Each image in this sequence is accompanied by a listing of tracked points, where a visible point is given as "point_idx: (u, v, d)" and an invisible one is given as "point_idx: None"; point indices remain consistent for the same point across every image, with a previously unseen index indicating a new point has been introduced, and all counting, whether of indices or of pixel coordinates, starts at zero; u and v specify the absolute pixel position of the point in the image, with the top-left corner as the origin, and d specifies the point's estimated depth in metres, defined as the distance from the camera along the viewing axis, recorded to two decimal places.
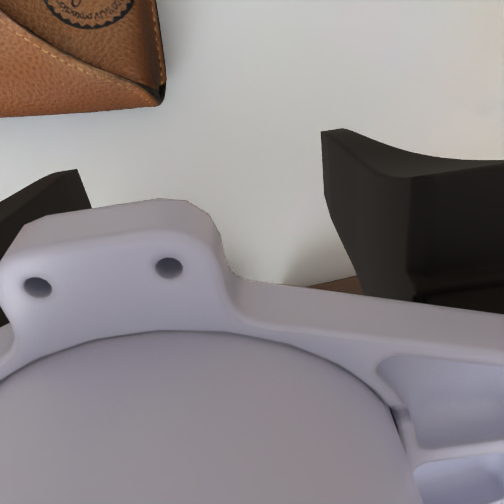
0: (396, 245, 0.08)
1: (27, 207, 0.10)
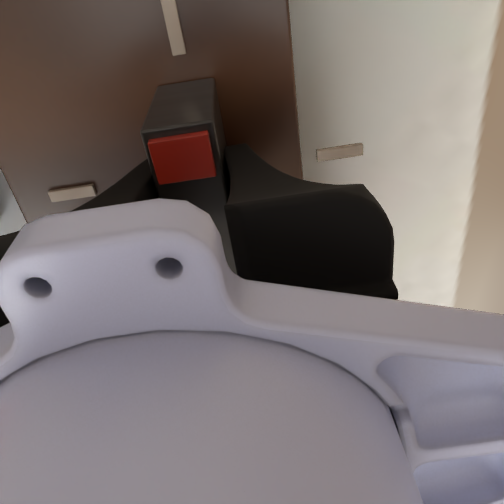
0: None
1: (144, 189, 0.10)
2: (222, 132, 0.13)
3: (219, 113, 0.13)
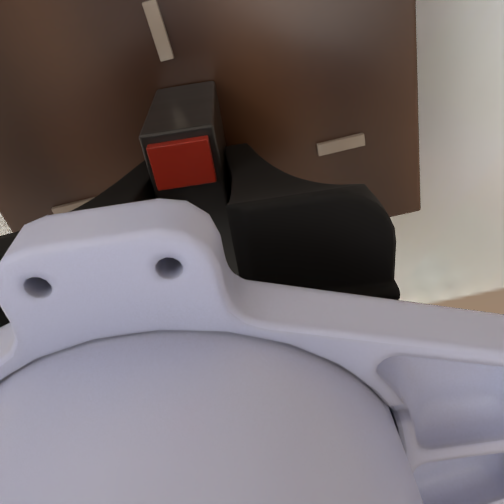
0: None
1: (144, 189, 0.10)
2: (222, 136, 0.12)
3: (219, 117, 0.12)
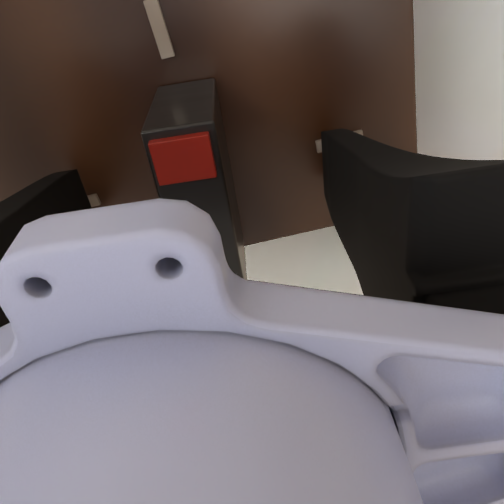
0: (396, 245, 0.08)
1: (27, 207, 0.10)
2: (223, 133, 0.13)
3: (220, 114, 0.13)
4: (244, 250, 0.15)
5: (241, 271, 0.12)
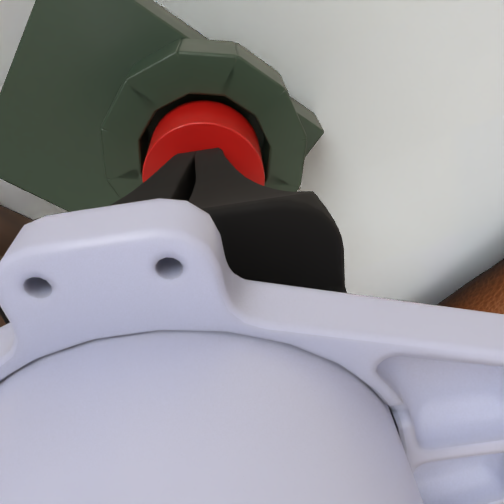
0: None
1: (180, 184, 0.10)
2: None
3: None
4: None
5: None
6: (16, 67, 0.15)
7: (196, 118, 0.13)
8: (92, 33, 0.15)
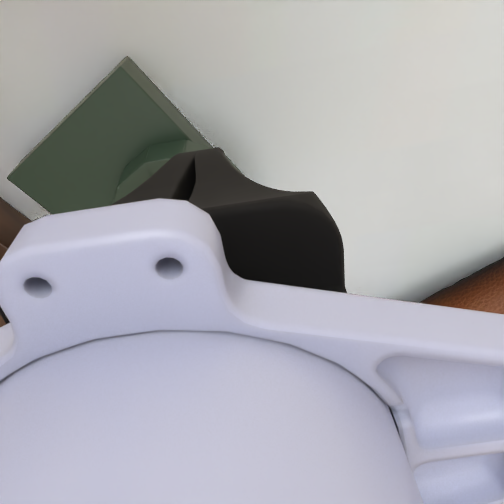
0: None
1: (180, 184, 0.10)
2: None
3: None
4: None
5: None
6: (65, 126, 0.21)
7: None
8: (126, 120, 0.21)
